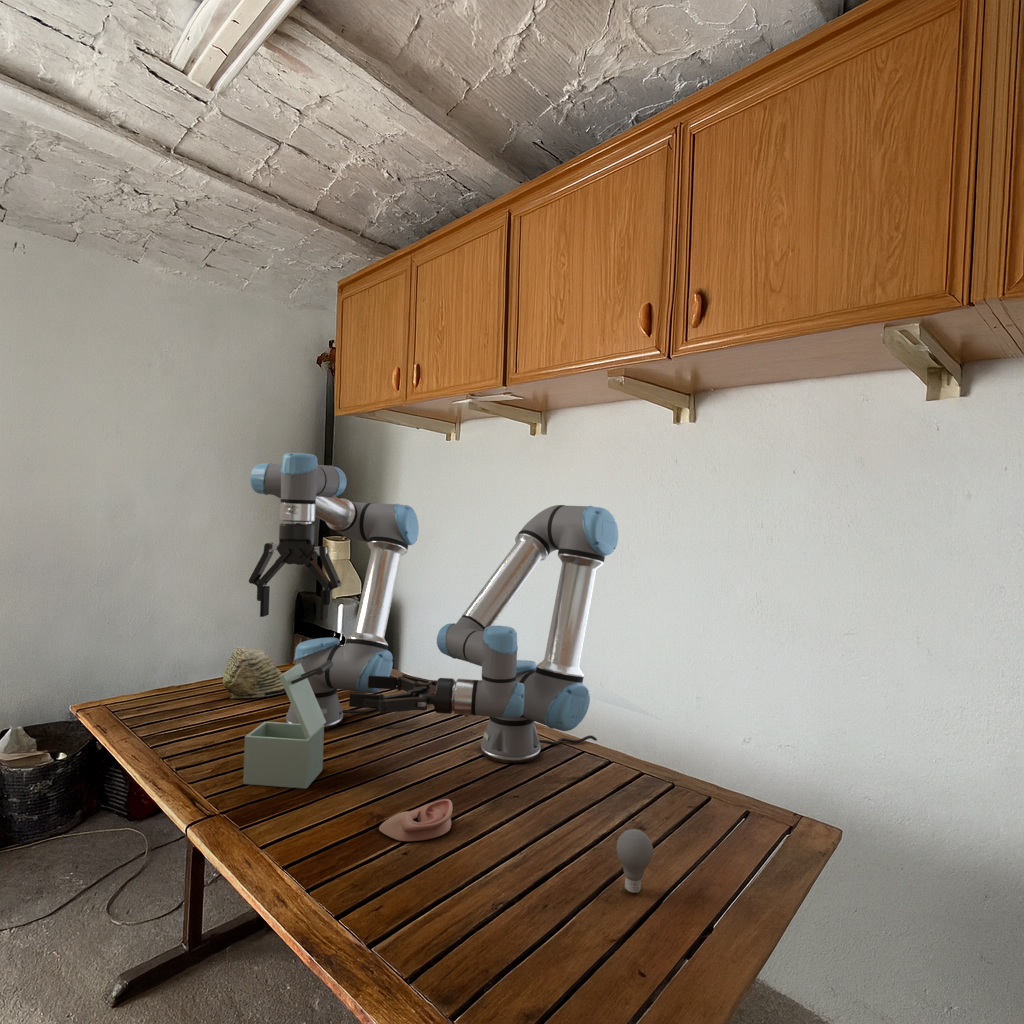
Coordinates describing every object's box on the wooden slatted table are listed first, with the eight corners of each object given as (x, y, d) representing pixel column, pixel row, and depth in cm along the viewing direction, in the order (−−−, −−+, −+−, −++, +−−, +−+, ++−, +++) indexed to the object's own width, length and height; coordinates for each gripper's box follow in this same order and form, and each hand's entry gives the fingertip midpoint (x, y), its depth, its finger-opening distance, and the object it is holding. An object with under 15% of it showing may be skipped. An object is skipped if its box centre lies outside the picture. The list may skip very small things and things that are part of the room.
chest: (243, 784, 138) (244, 736, 138) (263, 765, 148) (264, 721, 147) (306, 788, 137) (308, 740, 137) (322, 770, 147) (324, 725, 146)
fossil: (218, 695, 195) (220, 647, 195) (278, 685, 208) (279, 640, 207) (228, 703, 189) (230, 653, 188) (289, 692, 201) (290, 645, 201)
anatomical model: (372, 815, 119) (396, 788, 130) (371, 836, 119) (395, 808, 130) (440, 826, 116) (458, 797, 127) (439, 847, 116) (457, 817, 127)
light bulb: (610, 879, 108) (613, 822, 108) (644, 879, 109) (647, 822, 109) (619, 902, 102) (622, 840, 102) (655, 901, 103) (658, 840, 103)
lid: (278, 676, 137) (314, 660, 137) (296, 664, 147) (330, 650, 146) (306, 739, 137) (342, 723, 136) (322, 723, 146) (356, 709, 146)
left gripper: (234, 520, 138) (231, 617, 139) (346, 525, 137) (342, 623, 137) (251, 519, 146) (247, 611, 146) (357, 524, 144) (353, 617, 145)
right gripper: (443, 733, 127) (340, 726, 128) (461, 695, 152) (374, 690, 153) (445, 696, 127) (341, 690, 128) (463, 664, 152) (376, 659, 153)
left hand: (293, 617), depth 142 cm, fingers open, 13 cm apart
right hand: (359, 690), depth 141 cm, fingers open, 13 cm apart
